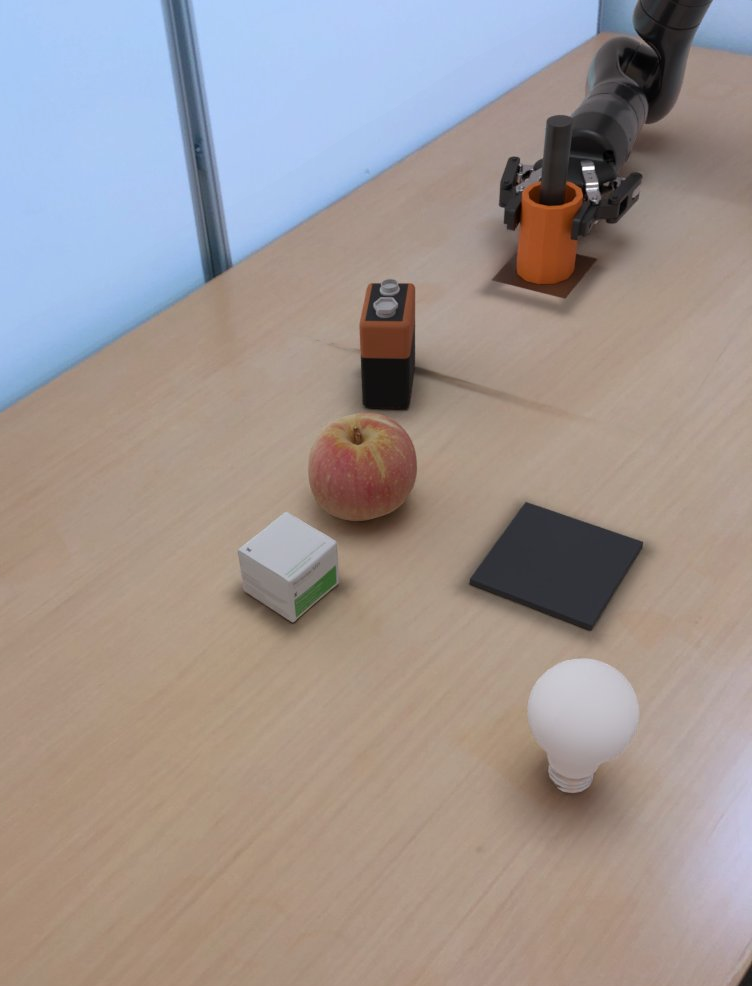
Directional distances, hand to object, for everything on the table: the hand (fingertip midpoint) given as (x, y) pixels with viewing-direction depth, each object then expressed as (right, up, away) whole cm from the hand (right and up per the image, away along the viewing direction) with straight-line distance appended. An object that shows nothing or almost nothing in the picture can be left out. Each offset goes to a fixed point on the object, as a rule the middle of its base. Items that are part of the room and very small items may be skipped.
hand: (542, 226), depth 106 cm
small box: (-24, -36, -18) cm, 47 cm away
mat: (-4, -34, -20) cm, 39 cm away
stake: (+2, -3, +7) cm, 7 cm away
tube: (+2, -2, +6) cm, 6 cm away
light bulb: (-6, -49, -32) cm, 59 cm away
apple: (-18, -29, -13) cm, 36 cm away
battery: (-15, -16, -3) cm, 22 cm away
